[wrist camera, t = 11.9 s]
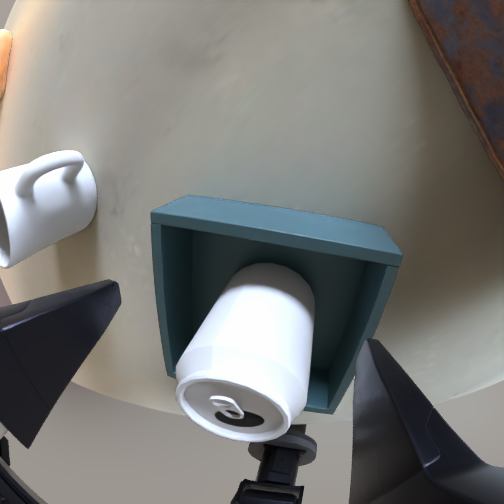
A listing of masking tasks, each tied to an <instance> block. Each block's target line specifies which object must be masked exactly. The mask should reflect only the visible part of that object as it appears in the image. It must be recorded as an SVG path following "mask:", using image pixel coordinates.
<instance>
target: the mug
mask: <svg viewBox="0 0 504 504" xmlns="http://www.w3.org/2000/svg"><path fill="white" fill-rule="evenodd" d="M96 206H97V189H96V184H95V180H94V177H93V174H92V172H91V170H90V168H89V166H88V165H87V164H86V162H85V161H84V158H83V156H82V155H81V154H80V153H79V152H77V151H59V152H54V153H50V154H47V155H44V156H42V157H39V158H38V159H36V160H34V161H33V162H31V163H30V164H26V165H22V166H18V167H14V168H10V169H7V170H3V171H0V266H1V267H2V268H5V269H7V268H10V267H12V266H14V265H16V264H17V263H19V262H21V261H23V260H24V259H26V258H28V257H30V256H31V255H33V254H35V253H37V252H39V251H40V250H42V249H44V248H46V247H48V246H50V245H52V244H54V243H56V242H57V241H59V240H61V239H63V238H65V237H68V236H70V235H72V234H74V233H76V232H79V231H81V230H82V229H84V228H86V227H87V226H88V225H89V224H90V222H91V221H92V219H93V217H94V214H95V211H96Z"/></svg>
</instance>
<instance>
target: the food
mask: <svg viewBox="0 0 504 504" xmlns="http://www.w3.org/2000/svg"><path fill="white" fill-rule="evenodd" d="M11 43H12V34H11V32H9V31H7V30H0V98H1V97H2V96H3V94H4V91H5V84H6V74H7V68H8V63H9V55H10V50H11Z"/></svg>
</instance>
